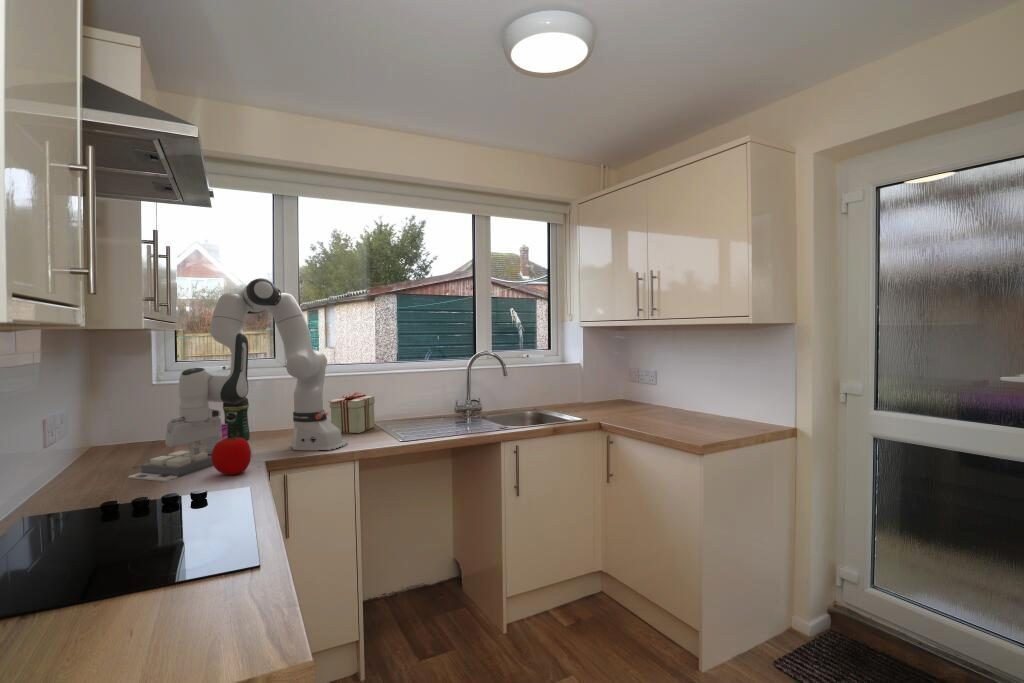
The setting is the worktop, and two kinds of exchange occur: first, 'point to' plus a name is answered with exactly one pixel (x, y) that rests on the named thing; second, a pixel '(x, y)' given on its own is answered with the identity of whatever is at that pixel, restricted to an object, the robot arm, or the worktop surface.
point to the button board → (170, 470)
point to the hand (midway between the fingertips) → (195, 453)
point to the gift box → (353, 413)
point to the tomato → (231, 455)
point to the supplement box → (216, 440)
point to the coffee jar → (237, 419)
